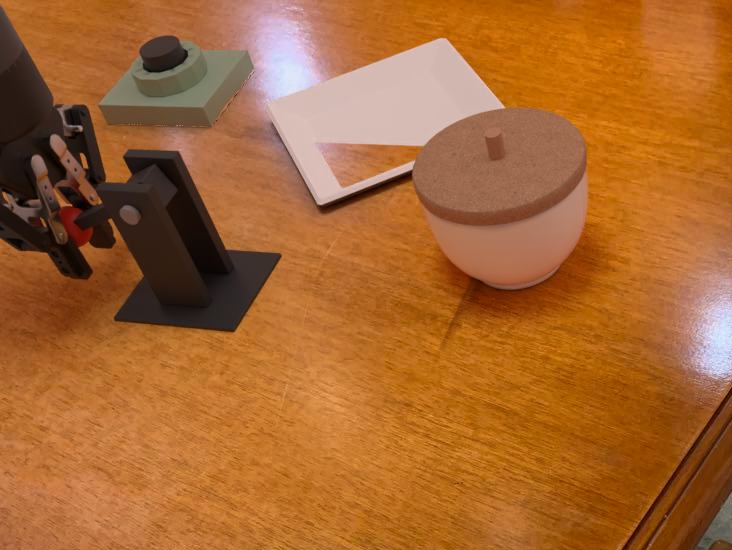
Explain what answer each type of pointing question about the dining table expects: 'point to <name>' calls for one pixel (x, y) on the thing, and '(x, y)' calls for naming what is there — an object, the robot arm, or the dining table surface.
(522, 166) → the lidded bowl
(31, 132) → the robot arm
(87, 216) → the red knobbed lever
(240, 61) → the green button base
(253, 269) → the lever stand
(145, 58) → the power button
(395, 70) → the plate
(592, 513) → the dining table surface
